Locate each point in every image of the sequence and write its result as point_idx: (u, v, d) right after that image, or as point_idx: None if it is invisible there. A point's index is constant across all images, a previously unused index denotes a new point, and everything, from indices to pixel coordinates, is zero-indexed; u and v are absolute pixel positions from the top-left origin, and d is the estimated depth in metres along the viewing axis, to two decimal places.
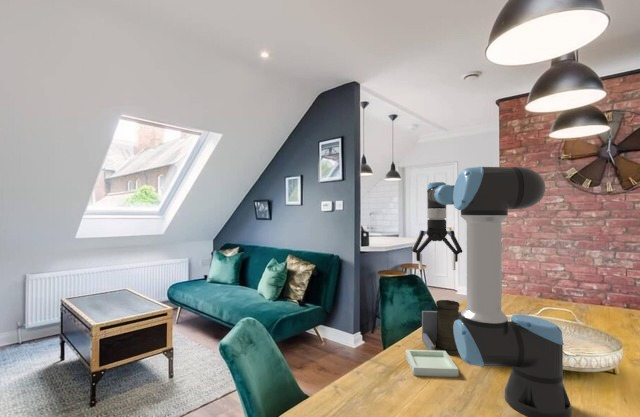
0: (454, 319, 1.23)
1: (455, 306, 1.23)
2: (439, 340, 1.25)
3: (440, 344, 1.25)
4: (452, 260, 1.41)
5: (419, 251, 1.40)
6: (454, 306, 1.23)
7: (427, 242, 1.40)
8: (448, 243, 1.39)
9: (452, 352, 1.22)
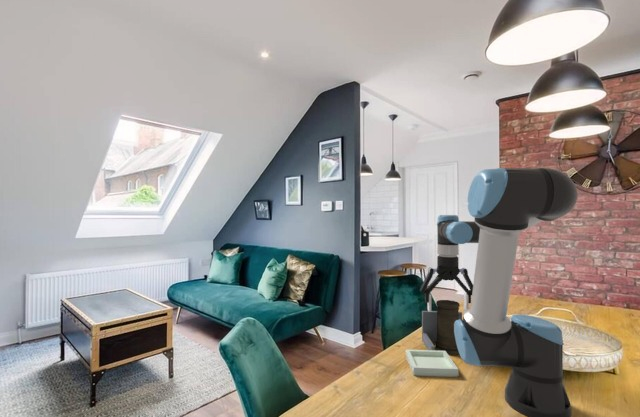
0: (454, 319, 1.23)
1: (455, 306, 1.23)
2: (439, 340, 1.25)
3: (440, 344, 1.25)
4: (464, 301, 1.27)
5: (428, 291, 1.26)
6: (454, 306, 1.23)
7: (437, 281, 1.26)
8: (460, 283, 1.25)
9: (452, 352, 1.22)
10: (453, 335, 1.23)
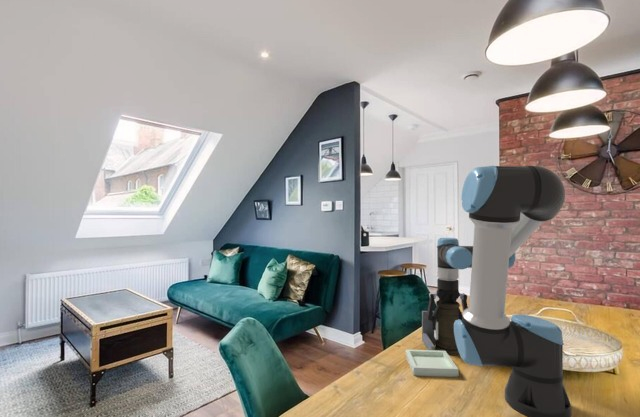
0: (454, 319, 1.23)
1: (455, 306, 1.23)
2: (439, 340, 1.25)
3: (440, 344, 1.25)
4: None
5: (434, 319, 1.26)
6: (454, 306, 1.23)
7: None
8: None
9: (452, 352, 1.22)
10: (453, 335, 1.23)
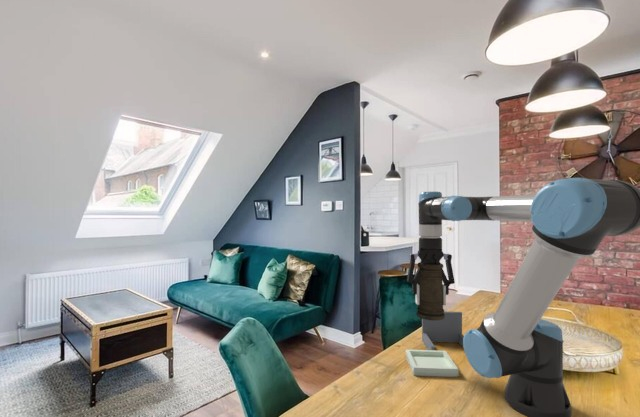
0: (437, 281, 1.10)
1: (438, 266, 1.10)
2: (420, 305, 1.12)
3: (421, 309, 1.12)
4: None
5: (415, 281, 1.13)
6: (437, 266, 1.10)
7: None
8: None
9: (434, 317, 1.09)
10: (436, 299, 1.10)
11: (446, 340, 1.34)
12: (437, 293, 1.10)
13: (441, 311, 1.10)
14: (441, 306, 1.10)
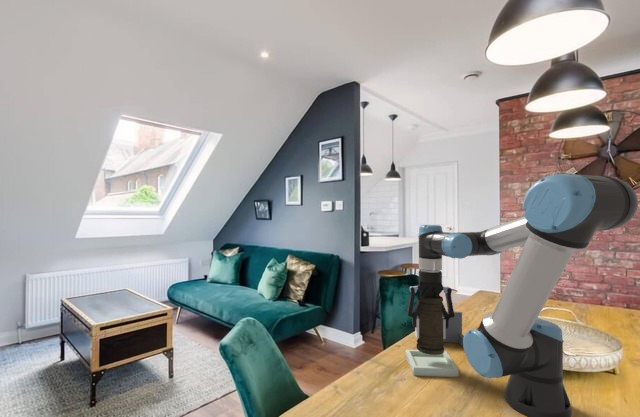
0: (436, 315, 1.10)
1: (438, 301, 1.10)
2: (420, 339, 1.12)
3: (421, 343, 1.12)
4: None
5: (415, 315, 1.13)
6: (436, 301, 1.10)
7: None
8: None
9: (434, 352, 1.09)
10: (435, 333, 1.10)
11: (446, 340, 1.34)
12: (437, 327, 1.10)
13: (440, 345, 1.10)
14: (441, 340, 1.10)
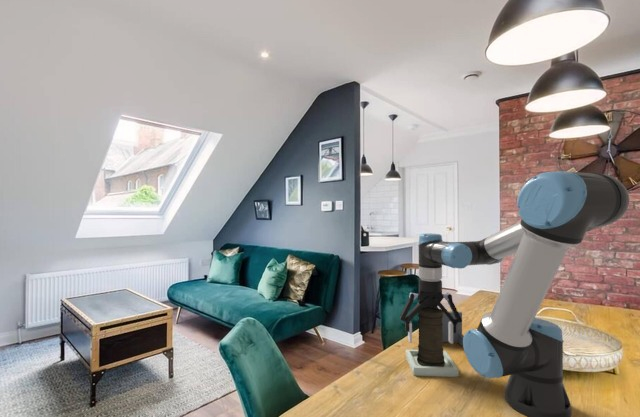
0: (437, 329, 1.10)
1: (438, 314, 1.10)
2: (420, 352, 1.12)
3: (421, 357, 1.11)
4: (449, 330, 1.14)
5: (408, 319, 1.13)
6: (437, 314, 1.09)
7: (418, 308, 1.13)
8: (444, 310, 1.12)
9: (434, 366, 1.09)
10: (436, 347, 1.09)
11: (446, 340, 1.34)
12: (437, 341, 1.10)
13: (441, 359, 1.10)
14: (441, 354, 1.10)
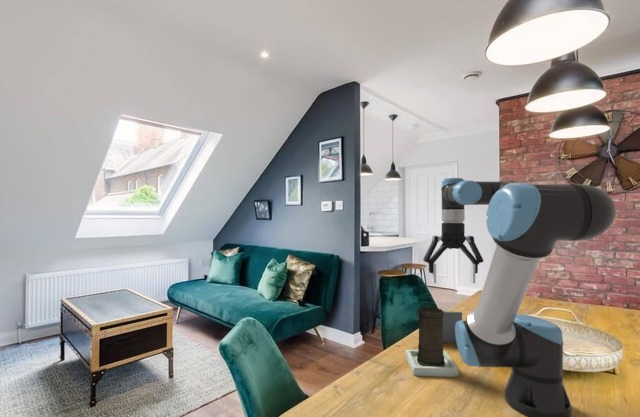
0: (437, 329, 1.10)
1: (438, 314, 1.10)
2: (420, 352, 1.12)
3: (422, 357, 1.11)
4: (470, 271, 1.18)
5: (432, 261, 1.16)
6: (437, 314, 1.09)
7: (442, 250, 1.16)
8: (467, 251, 1.16)
9: (435, 366, 1.09)
10: (436, 347, 1.09)
11: (446, 340, 1.34)
12: (437, 341, 1.10)
13: (441, 359, 1.10)
14: (441, 354, 1.10)
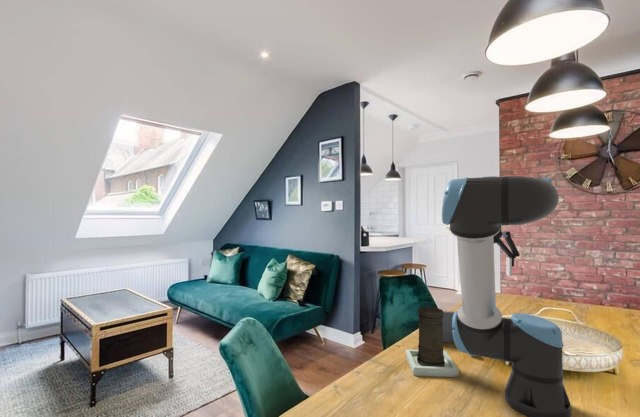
0: (437, 329, 1.10)
1: (438, 314, 1.10)
2: (420, 352, 1.12)
3: (422, 357, 1.11)
4: (507, 264, 1.25)
5: None
6: (437, 314, 1.09)
7: None
8: (503, 245, 1.23)
9: (435, 366, 1.09)
10: (436, 347, 1.09)
11: (446, 340, 1.34)
12: (437, 341, 1.10)
13: (441, 359, 1.10)
14: (441, 354, 1.10)
